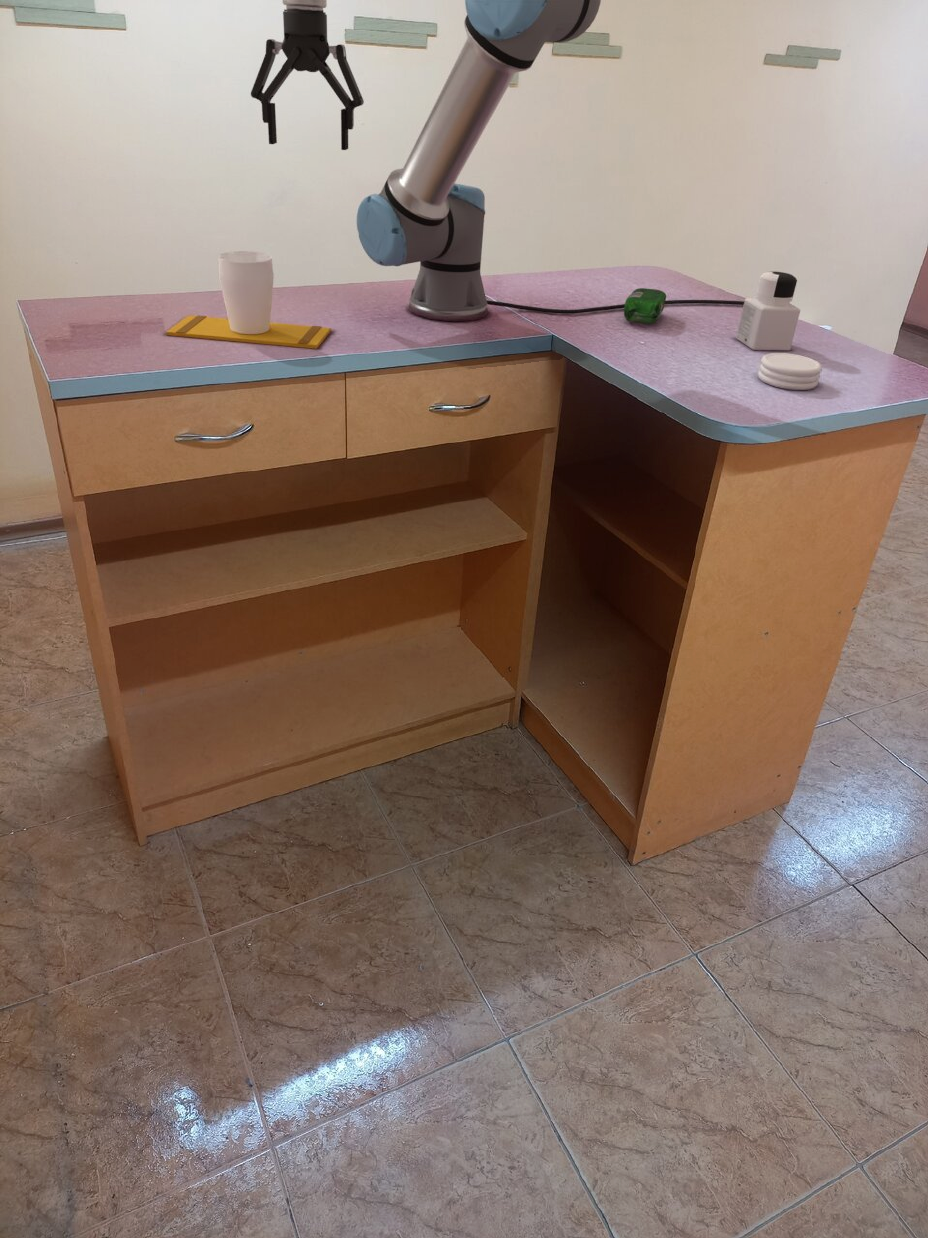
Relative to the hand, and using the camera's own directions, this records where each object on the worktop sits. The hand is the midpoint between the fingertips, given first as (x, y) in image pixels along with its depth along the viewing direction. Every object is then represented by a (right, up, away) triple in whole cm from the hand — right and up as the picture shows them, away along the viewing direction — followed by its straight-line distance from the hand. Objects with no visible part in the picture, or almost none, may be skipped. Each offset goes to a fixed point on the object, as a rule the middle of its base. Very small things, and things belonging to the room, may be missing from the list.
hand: (308, 146), depth 167 cm
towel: (-8, -38, -10) cm, 40 cm away
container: (+86, -36, +4) cm, 93 cm away
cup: (-8, -38, -11) cm, 40 cm away
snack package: (+65, -28, +14) cm, 72 cm away
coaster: (+84, -48, -14) cm, 98 cm away
